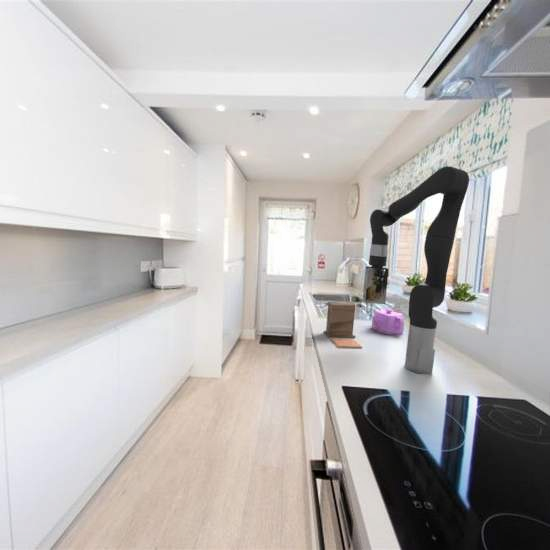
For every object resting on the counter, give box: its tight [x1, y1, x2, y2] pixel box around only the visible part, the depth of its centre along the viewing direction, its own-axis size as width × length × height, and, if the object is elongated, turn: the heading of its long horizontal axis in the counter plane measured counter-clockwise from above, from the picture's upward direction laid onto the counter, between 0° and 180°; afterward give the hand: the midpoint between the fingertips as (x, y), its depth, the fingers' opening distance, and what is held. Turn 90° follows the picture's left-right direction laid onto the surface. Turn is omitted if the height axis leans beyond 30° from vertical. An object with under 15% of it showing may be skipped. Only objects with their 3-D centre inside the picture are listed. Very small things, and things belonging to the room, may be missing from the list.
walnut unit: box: [323, 301, 356, 339], centre depth 153 cm, size 8×14×16 cm, turn 97°
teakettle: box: [371, 308, 405, 336], centre depth 168 cm, size 17×17×12 cm
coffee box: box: [362, 266, 389, 305], centre depth 137 cm, size 9×6×16 cm
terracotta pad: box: [330, 338, 363, 349], centre depth 141 cm, size 11×11×1 cm
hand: (374, 291), depth 137 cm, fingers closed on coffee box, 7 cm apart
